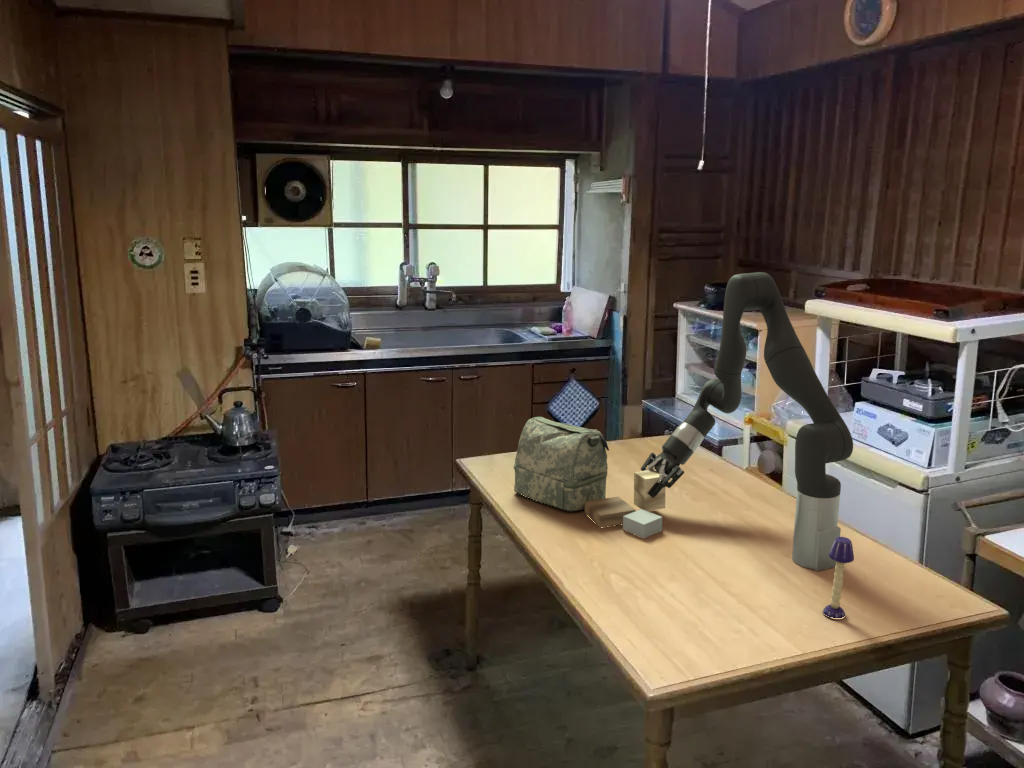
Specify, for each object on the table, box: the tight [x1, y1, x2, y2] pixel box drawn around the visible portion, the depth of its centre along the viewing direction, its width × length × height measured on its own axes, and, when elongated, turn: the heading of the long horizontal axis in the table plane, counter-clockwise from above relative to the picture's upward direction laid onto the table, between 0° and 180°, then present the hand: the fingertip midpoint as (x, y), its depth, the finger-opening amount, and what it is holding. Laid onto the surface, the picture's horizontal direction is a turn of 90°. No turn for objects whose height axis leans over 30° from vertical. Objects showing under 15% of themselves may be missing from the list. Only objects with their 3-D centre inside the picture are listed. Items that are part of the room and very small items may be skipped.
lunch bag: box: [513, 416, 610, 512], centre depth 224 cm, size 26×18×22 cm
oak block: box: [633, 470, 666, 512], centre depth 213 cm, size 6×6×9 cm
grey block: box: [622, 508, 663, 539], centre depth 203 cm, size 7×7×4 cm
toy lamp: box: [822, 536, 855, 618], centre depth 160 cm, size 5×5×17 cm
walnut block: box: [584, 496, 637, 529], centre depth 211 cm, size 10×10×4 cm
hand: (644, 491), depth 212 cm, fingers closed on oak block, 6 cm apart
